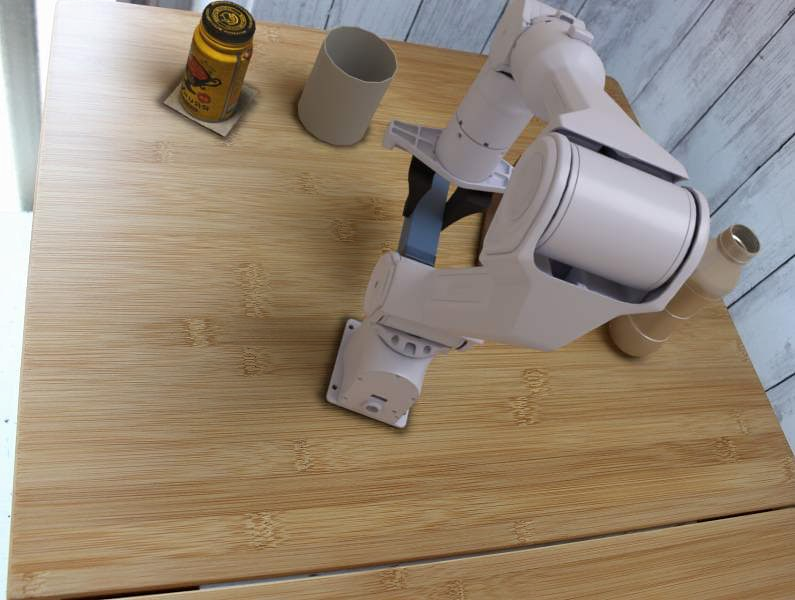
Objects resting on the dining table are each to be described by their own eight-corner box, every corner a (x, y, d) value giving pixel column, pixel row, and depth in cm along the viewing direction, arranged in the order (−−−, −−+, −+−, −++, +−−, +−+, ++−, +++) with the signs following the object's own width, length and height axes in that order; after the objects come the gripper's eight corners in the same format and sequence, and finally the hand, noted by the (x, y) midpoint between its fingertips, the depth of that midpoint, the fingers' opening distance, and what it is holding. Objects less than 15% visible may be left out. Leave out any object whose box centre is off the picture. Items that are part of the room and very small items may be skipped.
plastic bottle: (614, 365, 93) (737, 268, 78) (592, 313, 96) (707, 209, 81) (657, 362, 96) (784, 268, 81) (635, 311, 99) (753, 211, 84)
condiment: (162, 104, 88) (182, 16, 79) (199, 61, 93) (222, -26, 84) (224, 138, 89) (250, 55, 80) (257, 93, 94) (286, 11, 85)
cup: (370, 106, 100) (401, 43, 92) (362, 154, 95) (394, 93, 88) (303, 81, 98) (329, 15, 90) (291, 129, 93) (318, 64, 86)
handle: (421, 283, 79) (434, 265, 77) (391, 272, 79) (404, 253, 76) (441, 181, 88) (454, 161, 85) (415, 169, 87) (427, 149, 85)
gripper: (562, 126, 75) (493, 214, 86) (417, 60, 73) (364, 160, 83) (558, 181, 71) (486, 267, 82) (403, 113, 68) (349, 211, 79)
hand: (423, 216), depth 82 cm, fingers closed on handle, 3 cm apart
